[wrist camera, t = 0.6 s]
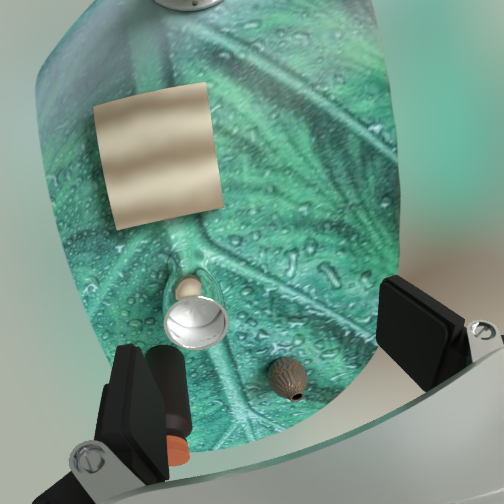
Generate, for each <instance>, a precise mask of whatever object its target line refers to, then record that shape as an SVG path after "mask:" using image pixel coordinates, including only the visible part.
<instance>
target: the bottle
mask: <svg viewBox="0 0 504 504" xmlns="http://www.w3.org/2000/svg"><path fill="white" fill-rule="evenodd" d="M145 360H146V363H147V365H148V367H149V369H150V371H151V374H152V376H153V378H154V380H155V382H156V384H157V386H158V388H159V390H160V393H161V395H162V397H163V399H164V402H165V415H166V436H167V452H168V465H169V466H178V465H182V464H185V463H186V462H188V460H189V459H190V456H189V449H188V443H187V440H186V439H185V438H186V437H187V436H188V435H190V433H191V431H192V420H191V412H190V405H189V396H188V388H187V379H186V369H185V359H184V356H183V354H182V353H181V352H180V351H179V350H178V349H177V348H175V347H173V346H169V345H159V346H155V347H153V348H151V349H150V350H149V351H148V352H147V354H146V357H145Z"/></svg>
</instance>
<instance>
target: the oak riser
mask: <svg viewBox="0 0 504 504" xmlns="http://www.w3.org/2000/svg"><path fill="white" fill-rule="evenodd" d="M93 112H94V120H95V127H96V133H97V140H98V146H99V152H100V157H101V163H102V168H103V173H104V178H105V183H106V187H107V192H108V196H109V201H110V205H111V209H112V213H113V217H114V221H115V225H116V229H117V230H121V229H125V228H129V227H134V226H138V225H142V224H147V223H151V222H156V221H160V220H165V219H170V218H174V217H179V216H184V215H189V214H194V213H199V212H204V211H209V210H214V209H219V208H224V204H223V197H222V191H221V184H220V177H219V171H218V164H217V157H216V150H215V144H214V137H213V130H212V123H211V115H210V108H209V101H208V93H207V86H206V82H203V83H196V84H190V85H183V86H178V87H172V88H167V89H161V90H156V91H152V92H147V93H143V94H138V95H134V96H130V97H126V98H122V99H118V100H114V101H111V102H107V103H103V104H100V105H97V106H93Z"/></svg>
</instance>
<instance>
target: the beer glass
mask: <svg viewBox="0 0 504 504" xmlns="http://www.w3.org/2000/svg"><path fill="white" fill-rule="evenodd" d="M209 270H210V262H209V258H208V256H207V254H206V253H205V252H204V251H203V250H202V249H200V248H198V247H196V246H191V245H187V246H182V247H180V248H178V249H176V250H175V251H174V252H173V253H172V254H171V256H170V257H169V260H168V272H169V275H170V276H169V278H168V281H167V283H166V286H165V289H164V292H163V300H162V311H163V320H164V330H165V333H166V335H167V336H168V338H169V339H170V340H171V341H172V342H173V343H174V344H176V345H177V346H179V347H181V348H184V349H188V350H203V349H207V348H210V347H212V346H214V345H216V344H217V343H218V342H220V341H221V340H222V339H223V337H224V336H225V335H226V333H227V330H228V327H229V318H228V314H227V308H226V302H225V299H224V295H223V292H222V290H221V287H220V285H219V284H218V282H217V280H216V279H215V277H214V276H213V275H212V273H211V272H210V271H209Z"/></svg>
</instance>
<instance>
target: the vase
mask: <svg viewBox="0 0 504 504" xmlns="http://www.w3.org/2000/svg"><path fill="white" fill-rule="evenodd" d="M268 382H269V385H270V387H271V388H272V390H273V391H274V392H275V393H276V394H277V395H279V396H280V397H283V398H286V399H289V400H291V401H292V402H297V401H299V400H301V399H302V398H303V396H304V391H305V388H306V385H307V374H306V371H305V369H304V367H303V366H302V364H301V363H300V362H298V361H297V360H296V359H294V358H290V357H282V358H279V359H277V360H275V361H274V362H273V363H272V364H271V366H270V367H269V370H268Z"/></svg>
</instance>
